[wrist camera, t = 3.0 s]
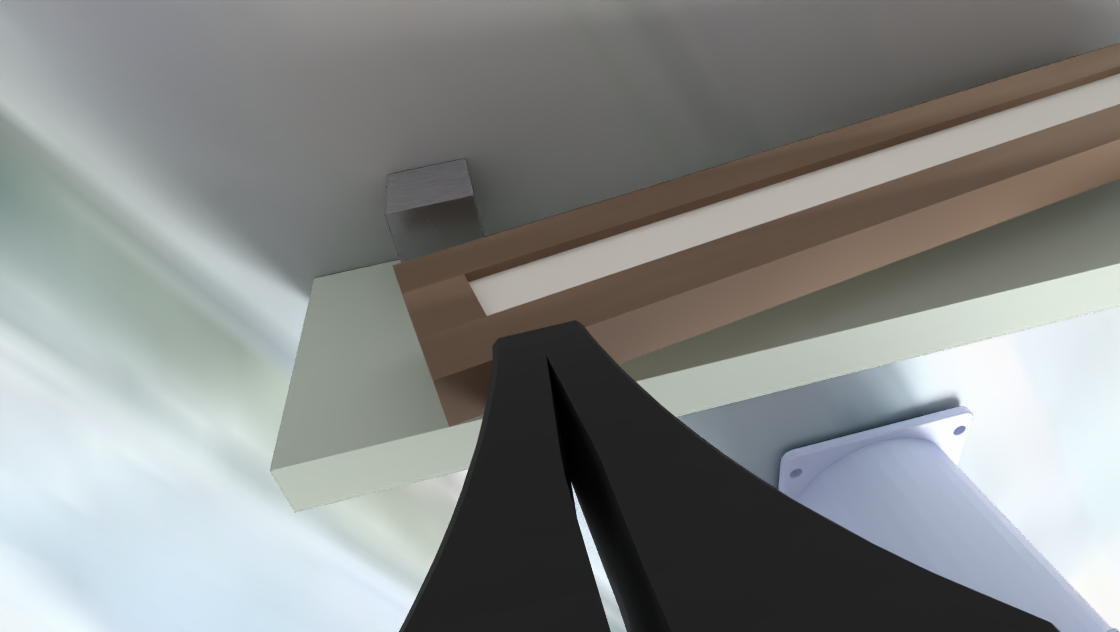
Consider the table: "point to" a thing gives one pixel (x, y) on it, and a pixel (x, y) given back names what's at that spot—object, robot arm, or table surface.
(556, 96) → the table surface
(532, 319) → the grooved wooden rail
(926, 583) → the robot arm
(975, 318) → the wall panel
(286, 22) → the table surface
